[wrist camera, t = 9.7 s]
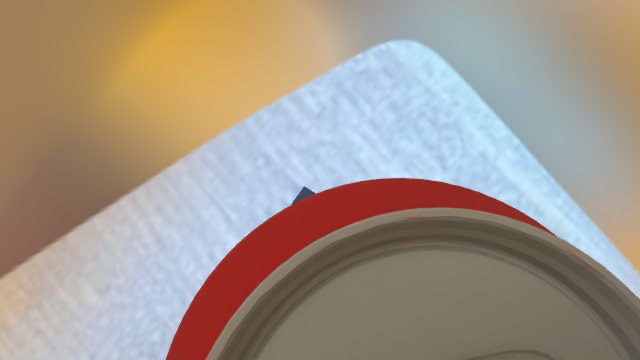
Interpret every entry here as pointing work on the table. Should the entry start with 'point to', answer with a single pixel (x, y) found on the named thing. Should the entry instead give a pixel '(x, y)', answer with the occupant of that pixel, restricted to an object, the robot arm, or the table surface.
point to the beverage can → (407, 285)
